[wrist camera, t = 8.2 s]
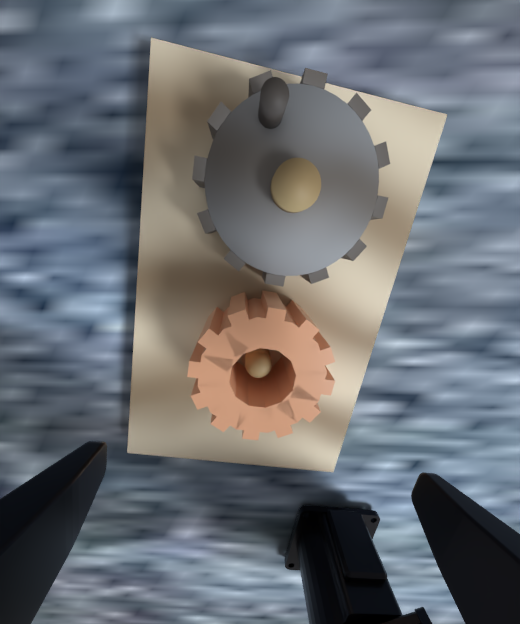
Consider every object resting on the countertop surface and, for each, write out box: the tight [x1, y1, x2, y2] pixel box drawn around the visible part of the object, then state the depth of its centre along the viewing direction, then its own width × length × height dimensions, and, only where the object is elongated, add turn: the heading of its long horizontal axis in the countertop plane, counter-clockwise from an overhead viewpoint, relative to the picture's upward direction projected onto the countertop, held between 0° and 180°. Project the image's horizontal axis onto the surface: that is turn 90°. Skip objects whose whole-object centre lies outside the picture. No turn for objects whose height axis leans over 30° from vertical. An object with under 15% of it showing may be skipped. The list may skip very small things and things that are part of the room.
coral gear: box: [187, 290, 335, 440], centre depth 14 cm, size 7×7×4 cm
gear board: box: [127, 38, 447, 472], centre depth 14 cm, size 22×14×5 cm, turn 170°
